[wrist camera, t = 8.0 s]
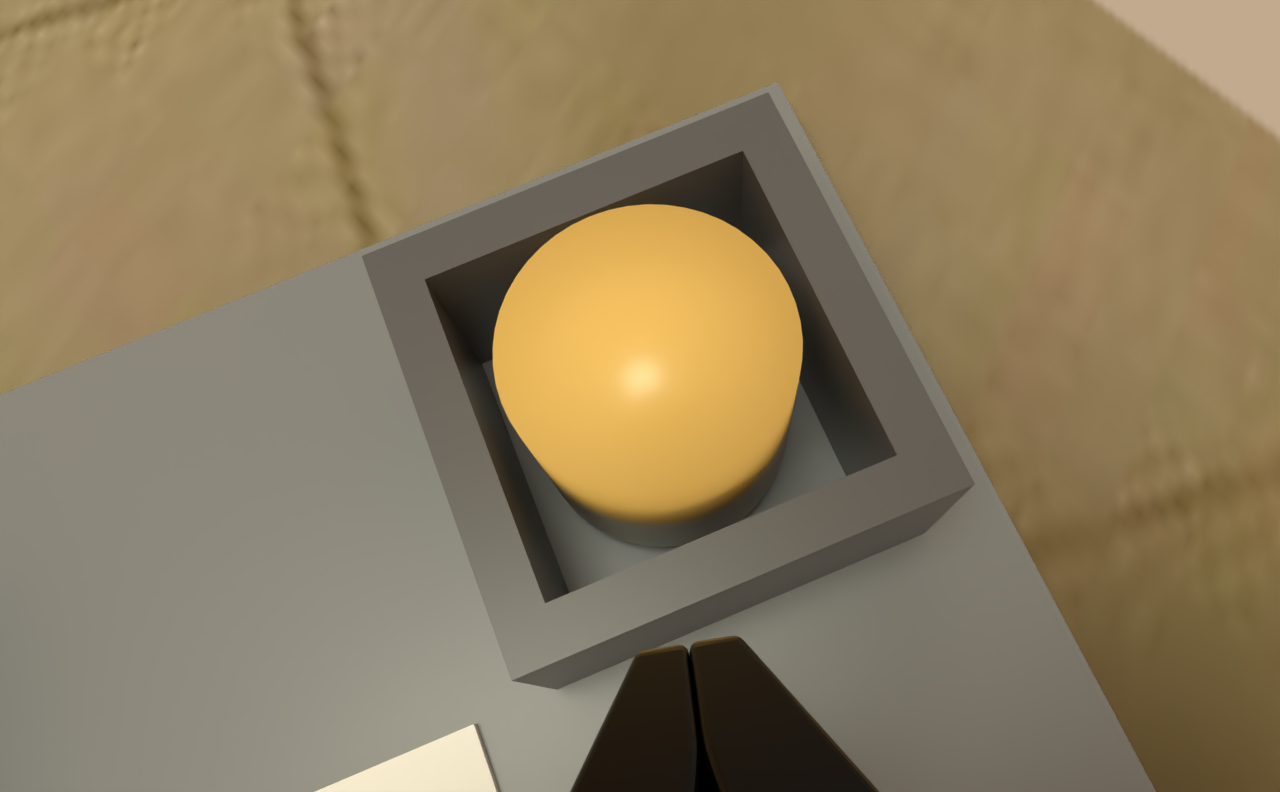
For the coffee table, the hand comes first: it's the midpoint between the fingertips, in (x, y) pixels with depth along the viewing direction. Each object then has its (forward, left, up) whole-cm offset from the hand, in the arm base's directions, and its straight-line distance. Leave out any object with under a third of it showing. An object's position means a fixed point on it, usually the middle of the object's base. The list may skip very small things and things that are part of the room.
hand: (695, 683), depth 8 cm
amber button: (+4, -2, -9) cm, 10 cm away
